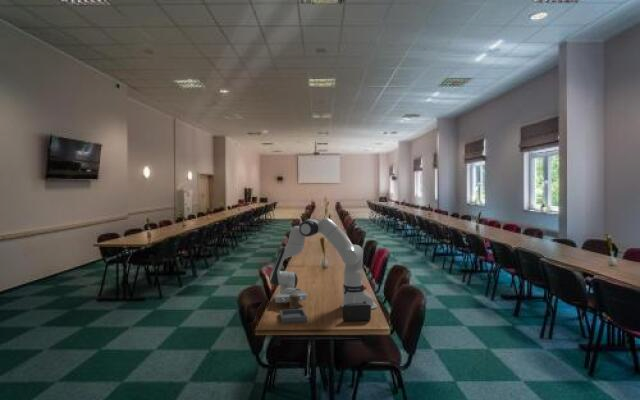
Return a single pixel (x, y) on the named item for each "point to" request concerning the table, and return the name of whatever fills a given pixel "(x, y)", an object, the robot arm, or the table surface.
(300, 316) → the tray
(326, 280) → the table surface
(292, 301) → the walnut block
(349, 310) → the blue scroll wheel mouse
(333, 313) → the table surface
